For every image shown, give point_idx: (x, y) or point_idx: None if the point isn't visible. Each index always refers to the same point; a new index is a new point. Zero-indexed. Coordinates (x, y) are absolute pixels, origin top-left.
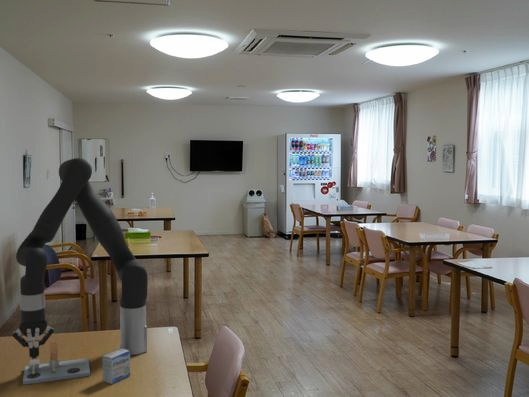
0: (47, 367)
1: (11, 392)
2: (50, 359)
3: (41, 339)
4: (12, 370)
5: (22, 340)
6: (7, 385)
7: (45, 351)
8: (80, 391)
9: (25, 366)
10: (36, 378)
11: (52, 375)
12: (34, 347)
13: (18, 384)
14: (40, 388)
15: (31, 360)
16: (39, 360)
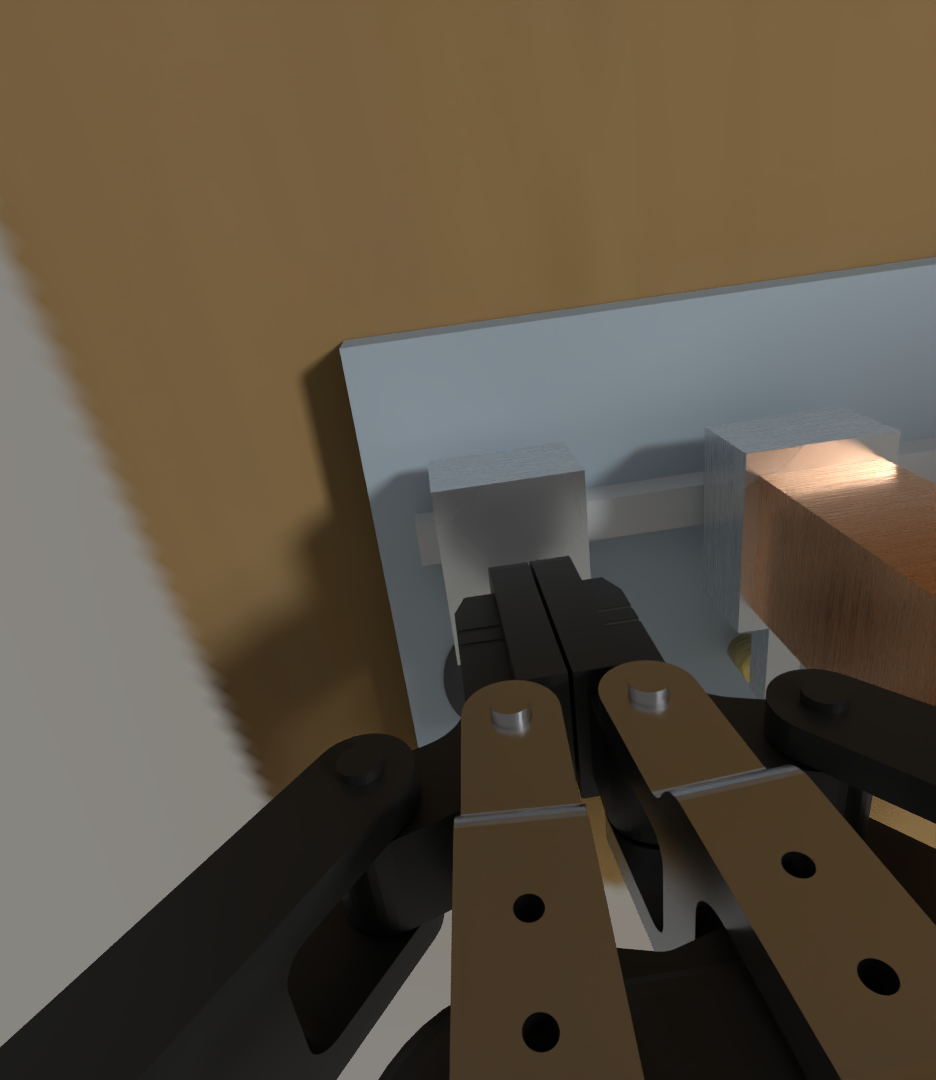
0: (670, 525)
1: None
2: (769, 617)
3: (816, 750)
4: (159, 333)
5: (332, 1068)
6: (266, 739)
7: None
8: None
9: (343, 363)
10: None
11: (720, 692)
12: (589, 772)
13: (375, 732)
14: (600, 825)
15: (461, 506)
16: (584, 500)
